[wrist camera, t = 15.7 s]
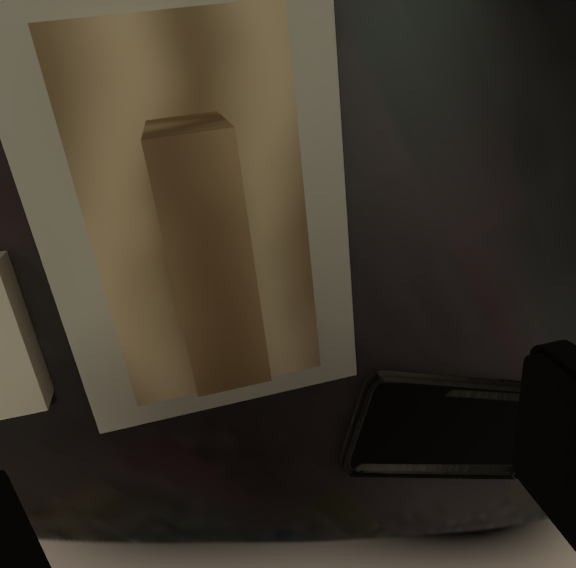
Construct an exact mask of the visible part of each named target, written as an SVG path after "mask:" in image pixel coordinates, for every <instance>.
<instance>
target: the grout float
mask: <svg viewBox="0 0 576 568" xmlns="http://www.w3.org/2000/svg"><path fill="white" fill-rule="evenodd" d="M28 26H29V30H30V33H31V37H32V40H33V44H34V47H35V51H36V54H37V58H38V61H39V65H40V68H41V72H42V75H43V79H44V82H45V85H46V89H47V92H48V96H49V99H50V103H51V106H52V110H53V113H54V117H55V120H56V124H57V127H58V131H59V134H60V138H61V141H62V145H63V148H64V152H65V155H66V159H67V162H68V166H69V169H70V173H71V176H72V180H73V183H74V187H75V190H76V194H77V197H78V201H79V204H80V208H81V211H82V215H83V218H84V221H85V225H86V228H87V232H88V235H89V239H90V242H91V246H92V249H93V253H94V256H95V260H96V263H97V267H98V270H99V274H100V277H101V281H102V284H103V288H104V291H105V295H106V298H107V302H108V305H109V309H110V312H111V316H112V319H113V323H114V326H115V330H116V333H117V337H118V340H119V344H120V347H121V351H122V354H123V358H124V361H125V364H126V368H127V371H128V375H129V378H130V382H131V385H132V389H133V392H134V396H135V399H136V403H137V406H143V405H147V404H152V403H156V402H161V401H165V400H170V399H174V398H179V397H183V396H188V395H192V394H197V395H198V397H201V396H206V395H210V394H215V393H219V392H224V391H228V390H233V389H237V388H242V387H246V386H250V385H255V384H259V383H264V382H268V381H272V379H271V377H273V376H277V375H282V374H286V373H291V372H295V371H300V370H304V369H309V368H313V367H318V366H321V363H320V352H319V342H318V331H317V321H316V310H315V300H314V289H313V279H312V268H311V258H310V247H309V237H308V226H307V216H306V205H305V195H304V184H303V174H302V163H301V153H300V142H299V132H298V121H297V111H296V100H295V90H294V79H293V69H292V58H291V48H290V37H289V27H288V16H287V6H286V0H249V1H239V2H230V3H220V4H210V5H200V6H190V7H180V8H171V9H161V10H151V11H141V12H131V13H122V14H112V15H102V16H92V17H82V18H73V19H63V20H53V21H43V22H33V23H28Z"/></svg>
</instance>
